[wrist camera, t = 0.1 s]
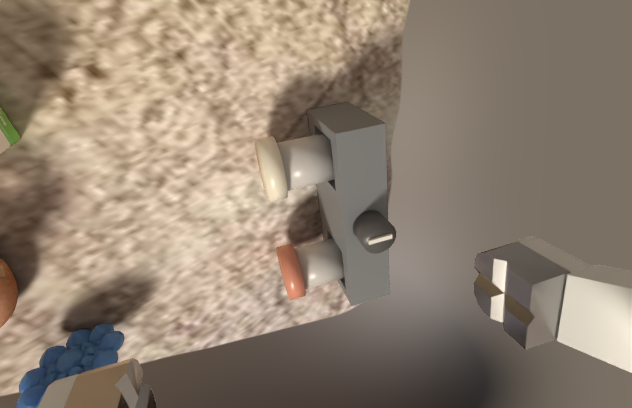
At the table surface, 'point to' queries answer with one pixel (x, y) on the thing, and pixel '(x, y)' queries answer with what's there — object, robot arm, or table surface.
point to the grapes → (70, 361)
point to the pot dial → (374, 231)
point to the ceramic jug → (7, 293)
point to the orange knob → (309, 266)
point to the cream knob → (293, 163)
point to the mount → (354, 193)
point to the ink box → (7, 133)
